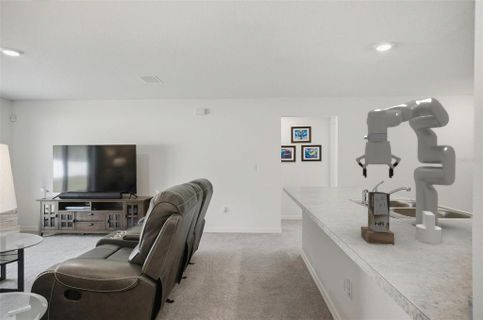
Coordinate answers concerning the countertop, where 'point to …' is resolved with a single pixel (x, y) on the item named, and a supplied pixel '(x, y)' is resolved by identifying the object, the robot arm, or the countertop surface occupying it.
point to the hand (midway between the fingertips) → (377, 177)
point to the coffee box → (378, 211)
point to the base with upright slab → (428, 229)
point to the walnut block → (377, 236)
